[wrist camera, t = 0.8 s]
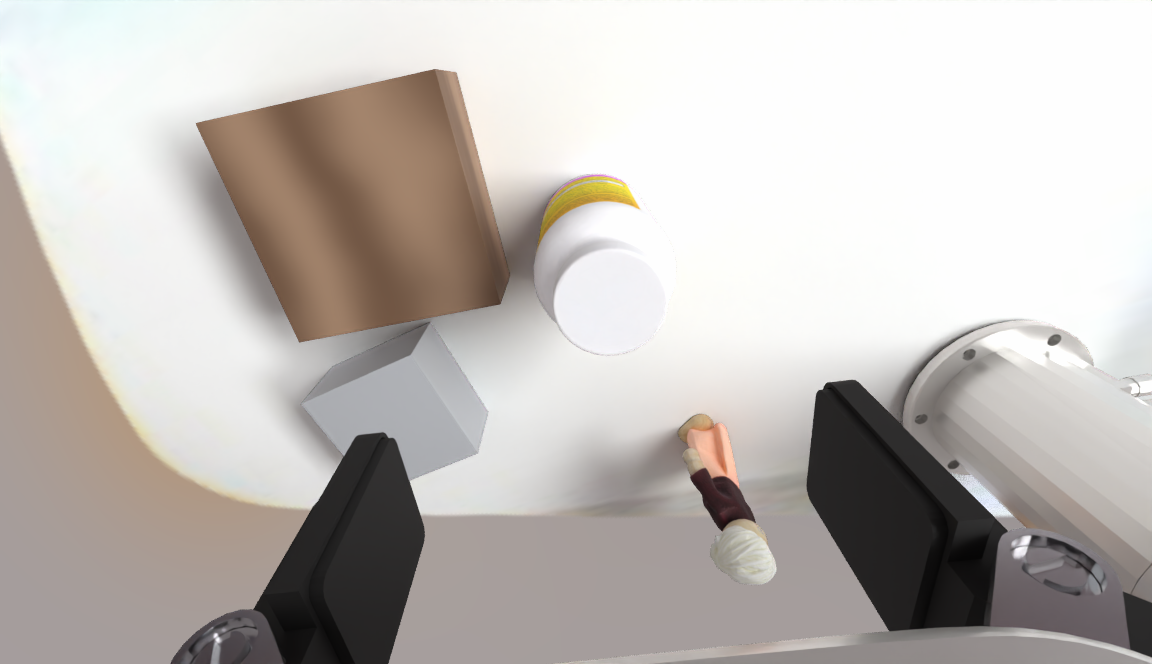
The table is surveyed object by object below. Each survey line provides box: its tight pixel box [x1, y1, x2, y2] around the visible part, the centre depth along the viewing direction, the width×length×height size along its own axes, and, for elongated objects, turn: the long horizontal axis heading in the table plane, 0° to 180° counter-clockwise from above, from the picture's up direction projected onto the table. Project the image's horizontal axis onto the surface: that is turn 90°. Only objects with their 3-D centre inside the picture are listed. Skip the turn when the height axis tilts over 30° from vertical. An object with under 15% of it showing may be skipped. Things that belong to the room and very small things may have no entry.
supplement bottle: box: [534, 174, 676, 356], centre depth 27 cm, size 7×7×13 cm
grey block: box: [301, 322, 488, 480], centre depth 35 cm, size 8×8×5 cm
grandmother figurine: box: [678, 414, 777, 585], centre depth 33 cm, size 8×4×13 cm, turn 48°
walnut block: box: [196, 69, 510, 342], centre depth 29 cm, size 12×12×5 cm
